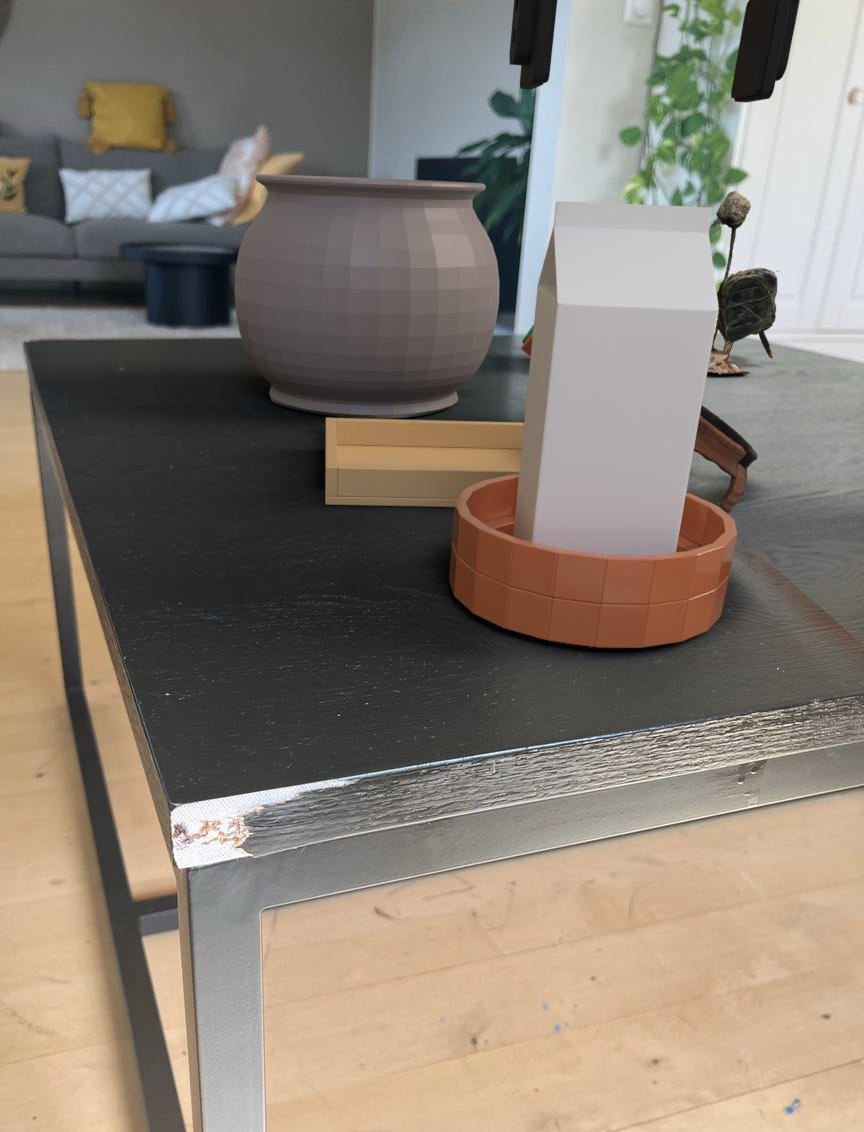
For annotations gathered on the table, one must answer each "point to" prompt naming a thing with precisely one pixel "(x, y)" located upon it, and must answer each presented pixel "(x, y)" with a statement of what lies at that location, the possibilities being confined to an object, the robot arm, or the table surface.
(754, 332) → the plant with pod
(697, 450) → the brown curved piece
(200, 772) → the table surface
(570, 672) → the table surface
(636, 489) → the milk carton
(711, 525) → the bowl
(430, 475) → the tray
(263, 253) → the round clay pot
